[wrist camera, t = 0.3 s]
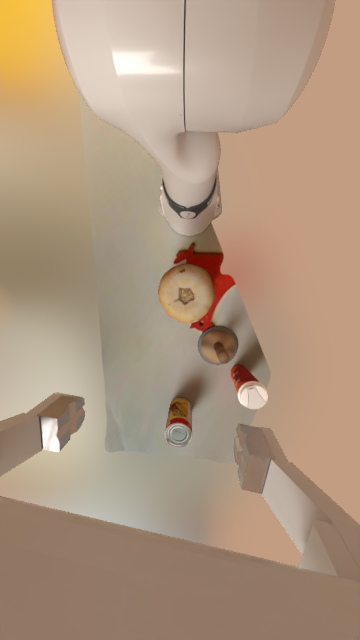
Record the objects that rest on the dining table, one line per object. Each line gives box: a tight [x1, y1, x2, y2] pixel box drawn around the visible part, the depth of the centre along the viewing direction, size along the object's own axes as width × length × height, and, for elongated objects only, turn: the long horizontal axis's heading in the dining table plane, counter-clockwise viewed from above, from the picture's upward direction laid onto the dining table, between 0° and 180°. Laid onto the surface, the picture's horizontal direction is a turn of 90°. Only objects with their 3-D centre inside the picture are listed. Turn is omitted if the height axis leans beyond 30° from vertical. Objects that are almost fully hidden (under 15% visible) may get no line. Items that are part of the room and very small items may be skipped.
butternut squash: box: [158, 264, 216, 323], centre depth 42 cm, size 14×13×25 cm
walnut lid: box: [201, 330, 235, 364], centre depth 51 cm, size 11×11×11 cm
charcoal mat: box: [198, 327, 238, 365], centre depth 56 cm, size 13×13×1 cm
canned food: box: [165, 398, 192, 447], centre depth 55 cm, size 8×8×12 cm
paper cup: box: [231, 365, 268, 409], centre depth 50 cm, size 8×8×14 cm
